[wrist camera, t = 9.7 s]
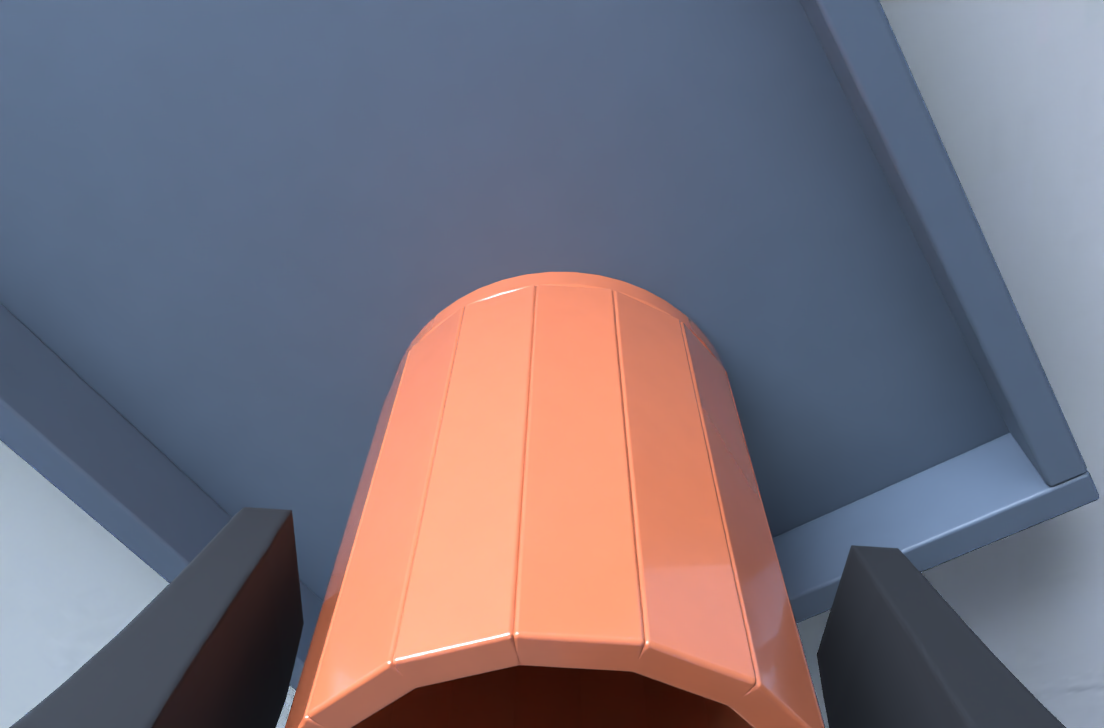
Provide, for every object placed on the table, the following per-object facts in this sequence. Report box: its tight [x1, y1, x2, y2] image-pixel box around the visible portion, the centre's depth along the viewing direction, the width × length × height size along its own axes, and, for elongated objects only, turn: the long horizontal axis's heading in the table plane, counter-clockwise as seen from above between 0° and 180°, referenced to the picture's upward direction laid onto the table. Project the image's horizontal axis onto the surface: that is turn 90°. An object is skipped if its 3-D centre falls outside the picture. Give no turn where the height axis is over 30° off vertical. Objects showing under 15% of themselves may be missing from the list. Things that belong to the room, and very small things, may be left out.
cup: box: [285, 272, 825, 728], centre depth 12 cm, size 6×6×7 cm
